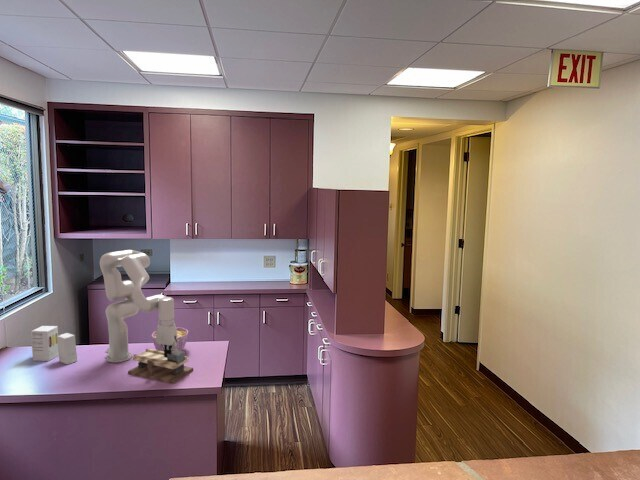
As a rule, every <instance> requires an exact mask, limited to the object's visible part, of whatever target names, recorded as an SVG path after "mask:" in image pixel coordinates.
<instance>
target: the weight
mask: <svg viewBox="0 0 640 480" xmlns="http://www.w3.org/2000/svg"><path fill="white" fill-rule="evenodd" d="M185 356H186V351H184V350H181V351H180V350H173V351H172V352H170V353H168V354H167V361H170V362H175V363H176V364H179V363H180V362H182V361H184V360H185Z"/></svg>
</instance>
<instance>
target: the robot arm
mask: <svg viewBox="0 0 640 480" xmlns="http://www.w3.org/2000/svg"><path fill="white" fill-rule="evenodd" d="M150 265H151V259H150V257H149V255H148V254H146V253H145V252H141V251H137V250H134V249H125V250H124V249H123V250H117V251H110V252H106V253H105V254H103V255H102V256H101V257H100V259H99V266H100V271H101V273H102V276H103V281H104V282H103V283H104V290H105V293H106V294H105V295H106V297H107V299H108V300H109V301H112V302H114V303H110V304H109V305H108V306H106V309H105V316H106V319H107V321H106V322H107V327H108V344H109V345H108V347H109V348H107V350H106V351H105V352H104V353H105V354H108V356H106V361H107V362H108V363H114V364H115V363H116V364H117V363H122V362H123V363H124V362H126V361H129V360H130V359H132V358H133V357H132V356H133V354H132V353H131V352H130V351H129V350H130V349H129V332H128V331H129V329H128V324H127V323H126V322H125V321H124V320H125V319H127V318H130V317H133V316H135V315H137V314H138V313H139V311H140V312H142V313H143V314H144V313H145V314H147V313H152V312H155V311H157V310H158V318H157V321H158V324H157V326H156V330H155V331H156V342H157V343H158V344H160V345H161V346H162V347H163V349H164V357H166V358H167V354H168V353H170V352H171V348H172V347H176V346H177V344H176V343H177V330H176V327H177V325H176V323H175V300H174V298H173V297H171V296H166V295H164V294H160V293H159V294H155V295H151V296H147V297H145V295H144V293H143V292H142V287H143V286H144V285H145V284H147V282H148V281H149V280H150V275H149V274H148V272H147V271H146V269H147V268H148V267H149V266H150ZM118 267H119V268H120V267H122V268H123V269H124V271H125V273H126V274H127V275H128V278H129V279H126V280H122V274H121V272H120V271H119V269H117V268H118ZM122 299H123V300H122ZM118 300H120V301H118ZM115 301H117V302H115Z"/></svg>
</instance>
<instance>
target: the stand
mask: <svg viewBox="0 0 640 480" xmlns="http://www.w3.org/2000/svg"><path fill="white" fill-rule="evenodd" d="M172 351H173V350H171V352H172ZM137 364H138V365H136V366H134V367H133V368H131V369H129V370H127V373H128V375H132V376H136V377H142V378H147V379H151V380H155V381H159V382H164V383H167V384H174V383H176V382H177V381H180V380H181V379H183V378H184V377H185V376H187V375H189V374H191V373H192V372H194V367H190V366H185V363H184V364H183V365H181V366H179V367H177V368H176V369H170V368H165V367H161V366H156V365H152V360H147V363H143V362H138V361H137Z"/></svg>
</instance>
